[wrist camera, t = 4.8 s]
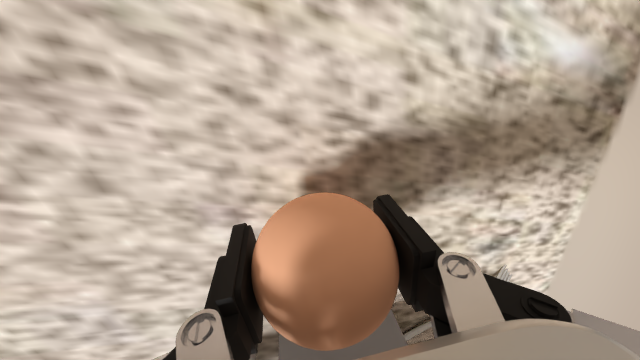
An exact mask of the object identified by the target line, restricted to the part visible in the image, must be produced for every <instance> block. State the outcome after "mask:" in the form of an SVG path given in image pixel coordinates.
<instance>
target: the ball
mask: <svg viewBox="0 0 640 360" xmlns="http://www.w3.org/2000/svg"><path fill="white" fill-rule="evenodd" d="M251 279H252V286H253V291H254V295H255V298H256V301H257V303H258V305H259V307H260V309H261V311H262V313H263V315H264V317H265V318H266V319H267V321H268V322H269V323H270V324H271V326H272V327H273V328H274V329H275V330H276V331H277V332H278V333H280V334H281V335H282V336H283V337H285V338H286V339H288V340H289V341H291V342H293V343H295V344H297V345H299V346H302V347H305V348H309V349H313V350H320V351H331V350H338V349H343V348H346V347H349V346H352V345H354V344H356V343H359V342H360V341H362V340H364V339H365V338H367V337H368V336H369V335H371V334H372V333H373V332H374V331H375V330H376V329H377V328H378V327H379V326H380V325H381V324H382V322H383V321H384V320H385V318H386V317H387V315H388V313H389V312H390V310H391V308H392V306H393V303H394V300H395V297H396V294H397V289H398V283H399V260H398V255H397V250H396V247H395V244H394V241H393V239H392V237H391V235H390V233H389V231H388V229H387V228H386V226H385V225H384V223H383V222H382V221H381V219H380V218H379V217H378V216H377V215H376V214H375V213H374V212H373V211H372V210H371V209H369V208H368V207H367V206H365V205H364V204H362V203H361V202H359V201H357V200H355V199H353V198H351V197H348V196H345V195H341V194H336V193H327V192H326V193H313V194H308V195H304V196H301V197H299V198H296V199H294V200H292V201H290V202H289V203H287V204H286V205H284V206H283V207H281V208H280V209H279V210H278V211H277V212H276V213H274V214H273V216H272V217H271V218H270V219H269V220H268V222H267V223H266V225H265V226H264V228H263V229H262V230H261V233H260V235H259V237H258V239H257V241H256V244H255V247H254V251H253V256H252V263H251Z"/></svg>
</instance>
